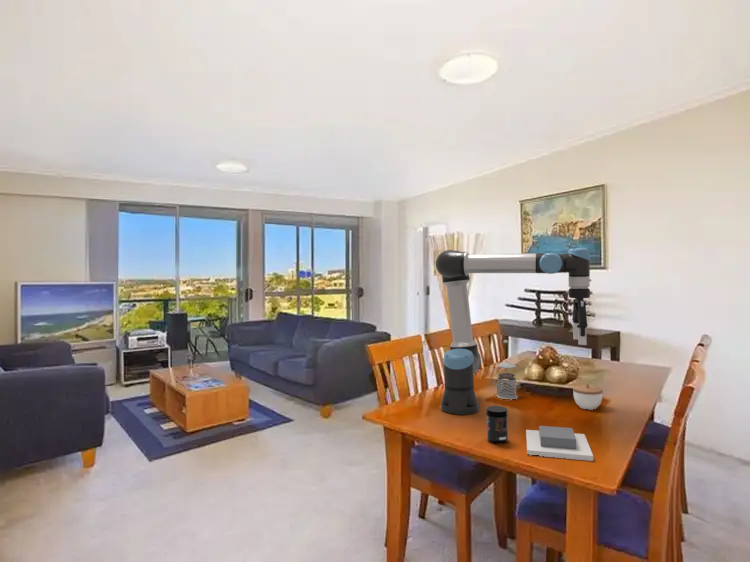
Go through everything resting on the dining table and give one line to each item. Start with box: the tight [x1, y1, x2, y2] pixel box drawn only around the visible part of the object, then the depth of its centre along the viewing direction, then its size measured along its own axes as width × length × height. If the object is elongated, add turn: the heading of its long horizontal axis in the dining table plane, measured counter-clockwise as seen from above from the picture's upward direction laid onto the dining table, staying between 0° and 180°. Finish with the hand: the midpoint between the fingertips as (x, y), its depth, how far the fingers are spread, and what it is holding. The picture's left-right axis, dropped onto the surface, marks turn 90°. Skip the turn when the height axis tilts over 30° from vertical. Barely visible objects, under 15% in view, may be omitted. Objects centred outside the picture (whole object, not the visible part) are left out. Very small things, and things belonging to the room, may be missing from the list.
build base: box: [525, 425, 594, 462], centre depth 140 cm, size 18×18×4 cm
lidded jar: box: [572, 383, 604, 411], centre depth 179 cm, size 11×11×9 cm
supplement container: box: [485, 405, 509, 444], centre depth 147 cm, size 7×7×10 cm
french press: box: [490, 339, 519, 401], centre depth 197 cm, size 10×12×25 cm
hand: (579, 342), depth 176 cm, fingers open, 13 cm apart
